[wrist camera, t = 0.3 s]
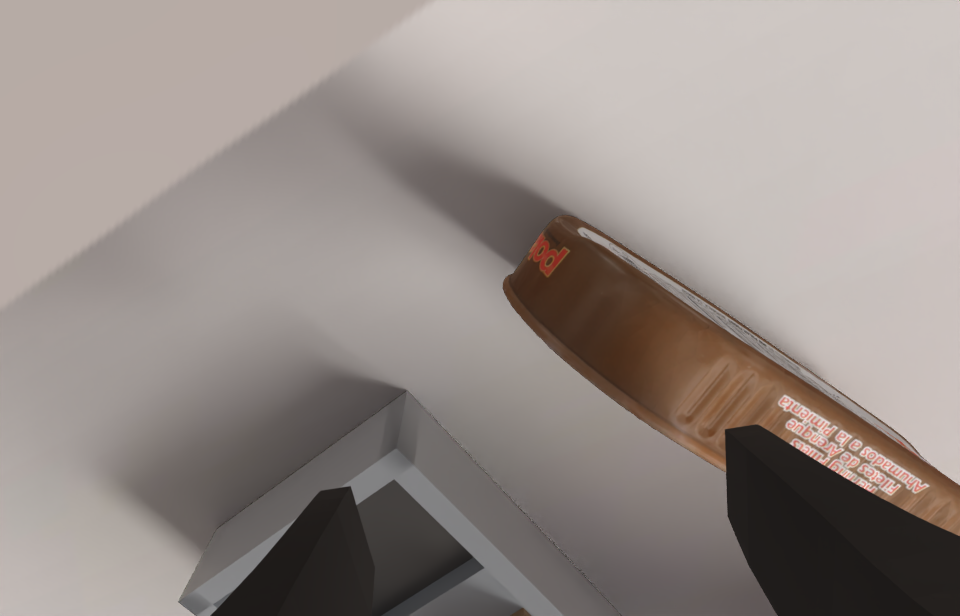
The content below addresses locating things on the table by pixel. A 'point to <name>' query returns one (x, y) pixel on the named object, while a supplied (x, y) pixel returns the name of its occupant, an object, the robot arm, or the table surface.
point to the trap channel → (410, 529)
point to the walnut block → (521, 613)
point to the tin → (704, 368)
